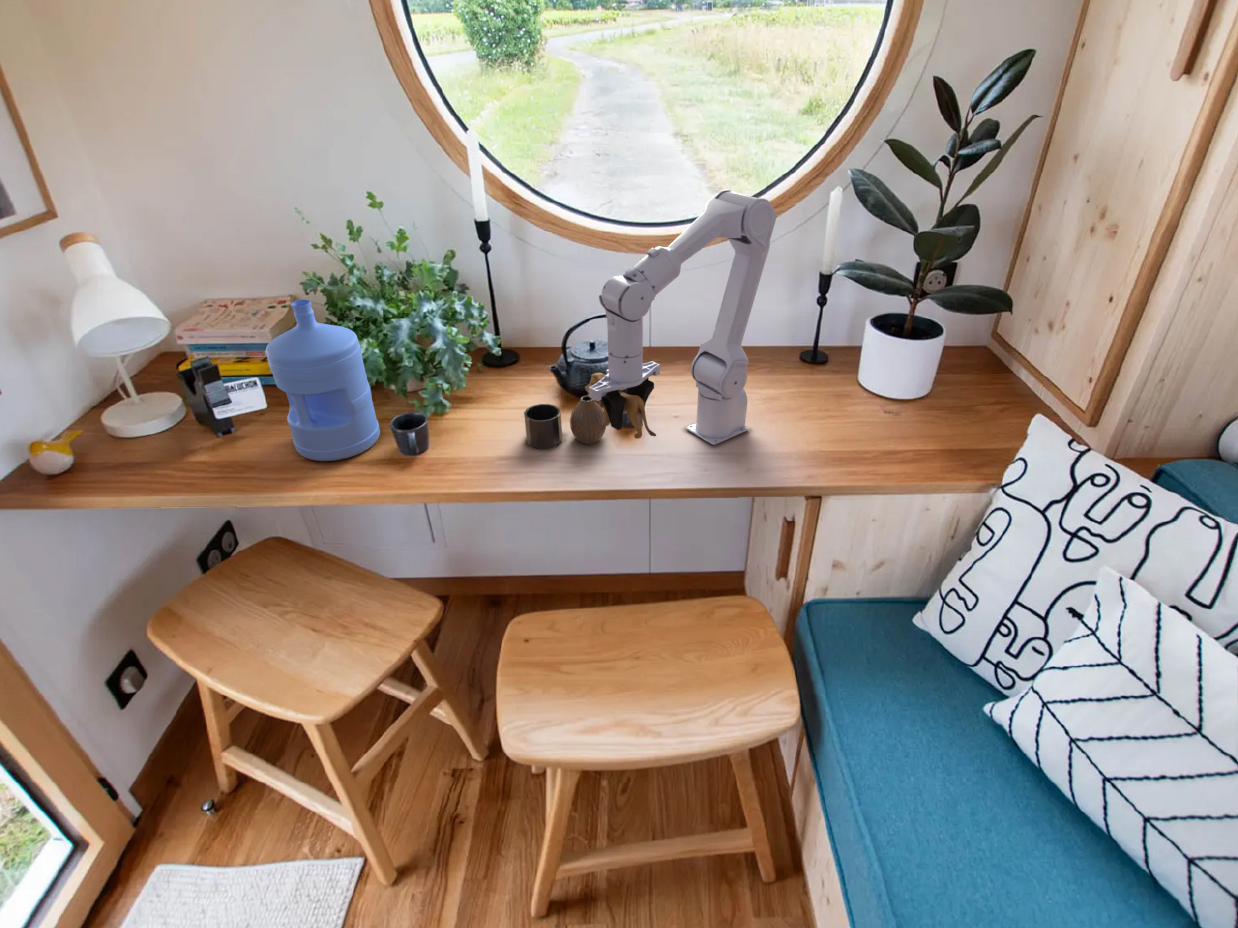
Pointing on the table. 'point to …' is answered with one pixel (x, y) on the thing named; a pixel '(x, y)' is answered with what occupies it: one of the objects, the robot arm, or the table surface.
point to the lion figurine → (626, 408)
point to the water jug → (323, 387)
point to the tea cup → (543, 426)
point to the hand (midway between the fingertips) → (626, 423)
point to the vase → (587, 421)
